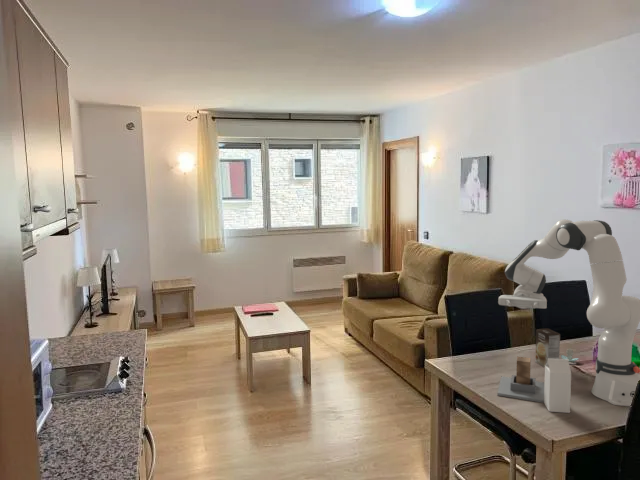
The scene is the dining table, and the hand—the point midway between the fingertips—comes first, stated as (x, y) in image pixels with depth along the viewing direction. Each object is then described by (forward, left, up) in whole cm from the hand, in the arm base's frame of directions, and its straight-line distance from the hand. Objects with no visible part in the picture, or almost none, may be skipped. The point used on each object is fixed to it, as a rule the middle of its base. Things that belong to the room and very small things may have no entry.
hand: (521, 305), depth 207 cm
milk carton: (-14, +33, -30) cm, 47 cm away
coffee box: (-11, -12, -30) cm, 34 cm away
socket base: (-2, +21, -30) cm, 37 cm away
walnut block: (-2, +21, -29) cm, 36 cm away
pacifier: (-20, -20, -30) cm, 41 cm away
